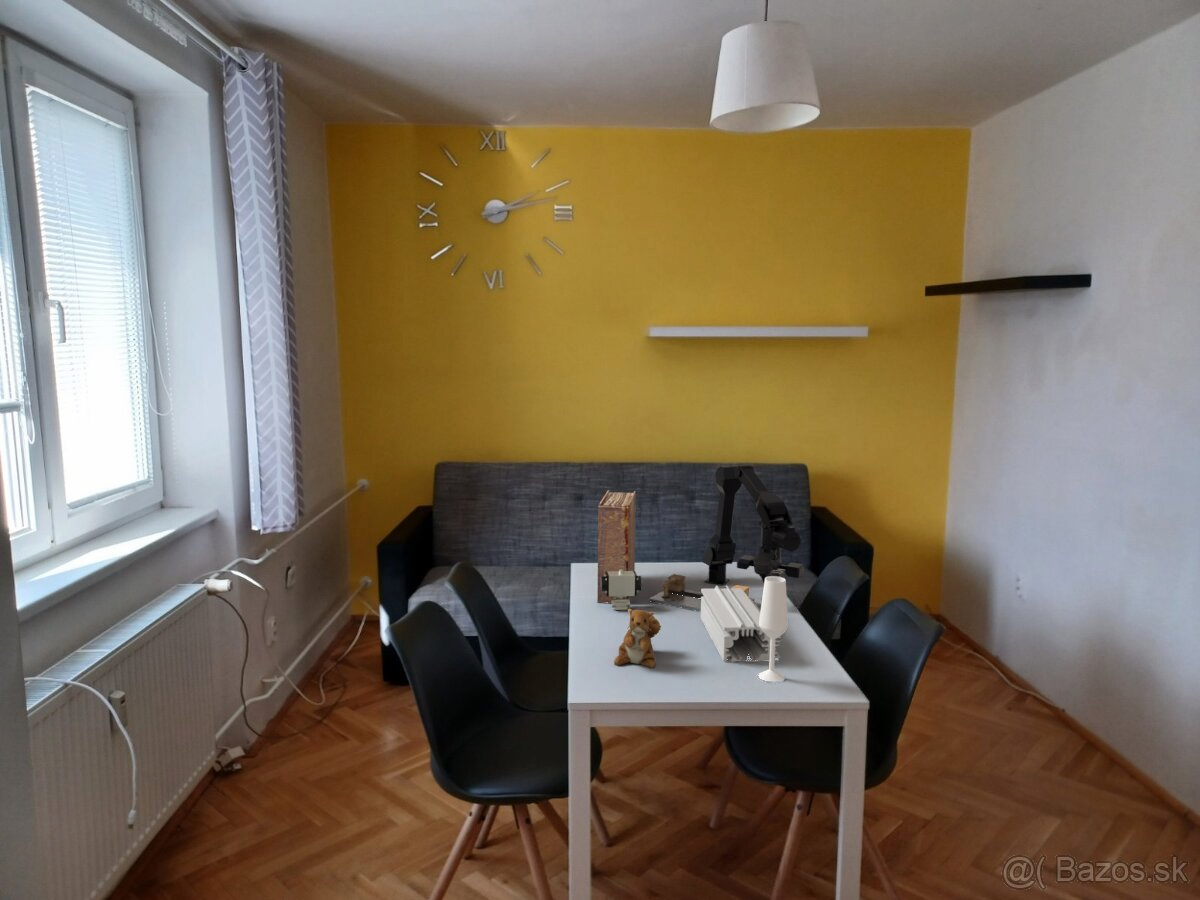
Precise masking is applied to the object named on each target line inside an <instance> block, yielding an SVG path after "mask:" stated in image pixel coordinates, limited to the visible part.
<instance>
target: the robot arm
mask: <svg viewBox="0 0 1200 900" xmlns="http://www.w3.org/2000/svg"><path fill="white" fill-rule="evenodd" d="M715 484H716V486H717V488H718V491H719V497H718V505H717V506H718V507H717V513H716V514H717V515H716V516H717V517H716V524H715V533H714V535H713V536H712V537H711V539H710V540H709V543H708V546H707V549H706V551H705V552H704V553H703V555H702V556H701V557H702V563H704V564H705V565H707V566H708V577H707V578H706V579H704V583H708V584H715V585H719V586H720V585H721V586H724V585H726V583H728V582H730V578H727V565H731V564H733V561H734V558H735V555H736V547H737V544H736V543H735V542H734V540H733V538H732V527H733V520H734V519H733V517H734V510H735V501H736V500H735V499H736V494H737V493H738V491H739V490H740V489H741V488H742V485H743V487H744V488H745V489H746V491H747V492H748V493H749V495H750V496H751V497H752V499H753V500H754V502H755V504H756V505H755V506H756V507H755V510H756V513H757V514H758V515H759V518H760V521H758V523H757V524H758V525H759V526H761V537H760V539H761V540H760V547H759V549H758V551H759V552H758V554H757V555H756V556H752V555H746V554H744V555H742V556H741V557H739V558H738V559H737V561H736V568H737V569H739V570H740V569H741V570H748V569H749V568H750V567H753V570H754V573H755V574H756V575H758V576H759V577H760V578H761V580H762V583H763V584H764V582H765V578H766V577H769V576H777V577H782V576H783V575H784V574H785V575H786V576H787V578H788V577H790V578H795V579H798V578H800V577H802V576H803V575H804V574H805V566H804V564H802V563H798V562H789V563H788V564H787V565H786V564H781V563H782V558H781V556H782V549H783V550H785V551H787V552H795V551H797V549H798V548H799V547H800V545H801V542H802V541H801V540H802V539H801V537H800V534H799V532H797V531H796V527H795V526H793V521H792V517H791V515H790V513H789V510H788V508H787V507H788V506H787V504H786V502H784V500H783V499H781V497H779V496H778V495H776V494H774V493H772V492H770V491H769V490H768V488H767V487H766V486H765V484H764V483H763V482H762V480H761V479H760V478H759V476H758V475H757V473H755V471H754V467H753V466H752V465H751V464H738V465H737V464H736V465H724V466H723V465H721V466H719V467H718V468H717V469H716V471H715Z"/></svg>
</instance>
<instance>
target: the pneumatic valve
mask: <svg viewBox="0 0 1200 900" xmlns="http://www.w3.org/2000/svg"><path fill="white" fill-rule="evenodd" d="M600 586H601V591H605V593H606V596H615V597H614V598H613V599H612V601H611V603H610V605H611V608H613V610H614V611H616V610H623V611H628V609H629V608H630V606H631V600H630V598H629V599H627V597H626V596H630V597H637V596H638V595H637V594H638V593H639V591H642V588H643V587H642V586H643V583H642V576H641V575H638V574H637V573H636V570H635V571H623V570H622V569H620V570H619V571H605V575H604V576H601V579H600Z"/></svg>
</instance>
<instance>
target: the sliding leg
mask: <svg viewBox="0 0 1200 900" xmlns="http://www.w3.org/2000/svg"><path fill="white" fill-rule="evenodd" d="M732 588H742V590H743V591H744V592H745V593H746V595H747V596H748V597H750V595H749V594H750V587H749V586H745V585H737V584H736V585H734V586H733V587H732Z"/></svg>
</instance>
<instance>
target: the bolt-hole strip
mask: <svg viewBox="0 0 1200 900" xmlns="http://www.w3.org/2000/svg"><path fill="white" fill-rule="evenodd" d="M650 601H651V602H650ZM653 602H655V603H654V604H658V603H661V604H660V605H663V604H665V606H668V605H671V606H670V607H673V606H676V607H675V608H678V607H682V608H681V609H684V608H685V609H684V610H689V609H691V610H690V611H694V610H696V611H695V612H699V611H701V599H698V598H693V597H688V596H682V595H677V594H672V593H668V596H664V591H660V592H658V593H657V594H655V595H653V596H651V597H650V598H649V603H653Z"/></svg>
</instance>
